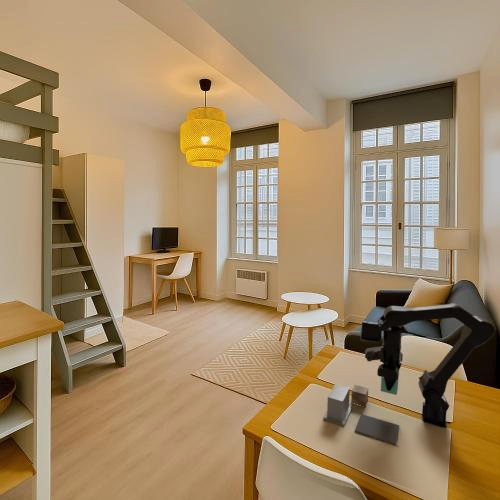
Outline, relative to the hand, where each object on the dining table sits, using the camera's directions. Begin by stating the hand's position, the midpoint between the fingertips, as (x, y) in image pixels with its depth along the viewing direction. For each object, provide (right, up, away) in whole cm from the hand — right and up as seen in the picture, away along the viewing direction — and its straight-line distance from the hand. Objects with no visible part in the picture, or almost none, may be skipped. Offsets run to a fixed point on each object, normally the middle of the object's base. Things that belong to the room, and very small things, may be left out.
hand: (389, 386), depth 110 cm
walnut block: (-8, -9, +7) cm, 14 cm away
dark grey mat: (-8, -10, -8) cm, 15 cm away
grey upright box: (-18, -9, 0) cm, 20 cm away
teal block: (0, -1, 0) cm, 1 cm away
